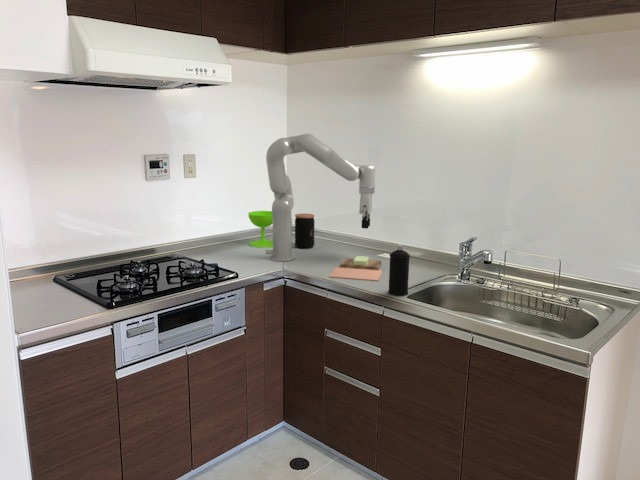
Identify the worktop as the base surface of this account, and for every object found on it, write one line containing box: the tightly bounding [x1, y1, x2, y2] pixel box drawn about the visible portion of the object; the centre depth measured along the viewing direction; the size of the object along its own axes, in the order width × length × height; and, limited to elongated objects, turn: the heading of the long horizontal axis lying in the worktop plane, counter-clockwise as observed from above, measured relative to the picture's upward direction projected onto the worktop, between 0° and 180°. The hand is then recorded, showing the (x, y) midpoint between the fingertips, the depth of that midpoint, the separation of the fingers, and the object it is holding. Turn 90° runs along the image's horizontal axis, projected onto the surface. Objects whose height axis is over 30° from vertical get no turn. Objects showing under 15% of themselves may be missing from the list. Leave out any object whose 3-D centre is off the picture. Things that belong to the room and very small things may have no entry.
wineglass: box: [248, 210, 273, 248], centre depth 292 cm, size 16×16×18 cm
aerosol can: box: [387, 244, 411, 297], centre depth 210 cm, size 8×8×20 cm
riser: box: [340, 257, 382, 270], centre depth 251 cm, size 18×12×2 cm, turn 76°
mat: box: [328, 266, 383, 282], centre depth 238 cm, size 22×16×1 cm
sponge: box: [353, 255, 370, 266], centre depth 250 cm, size 6×9×2 cm, turn 166°
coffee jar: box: [294, 213, 315, 250], centre depth 288 cm, size 11×11×18 cm
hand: (365, 226), depth 258 cm, fingers open, 4 cm apart
